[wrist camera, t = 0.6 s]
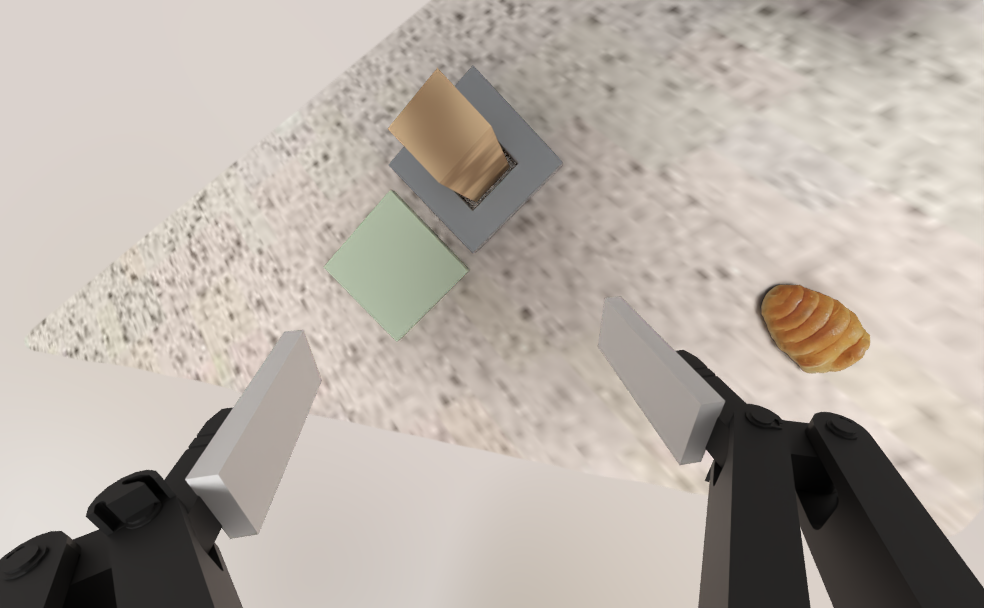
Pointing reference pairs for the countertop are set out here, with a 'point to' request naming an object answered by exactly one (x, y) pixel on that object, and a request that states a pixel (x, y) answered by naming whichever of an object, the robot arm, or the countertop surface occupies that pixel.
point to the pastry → (814, 329)
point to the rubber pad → (395, 266)
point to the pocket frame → (510, 193)
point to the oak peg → (450, 138)
